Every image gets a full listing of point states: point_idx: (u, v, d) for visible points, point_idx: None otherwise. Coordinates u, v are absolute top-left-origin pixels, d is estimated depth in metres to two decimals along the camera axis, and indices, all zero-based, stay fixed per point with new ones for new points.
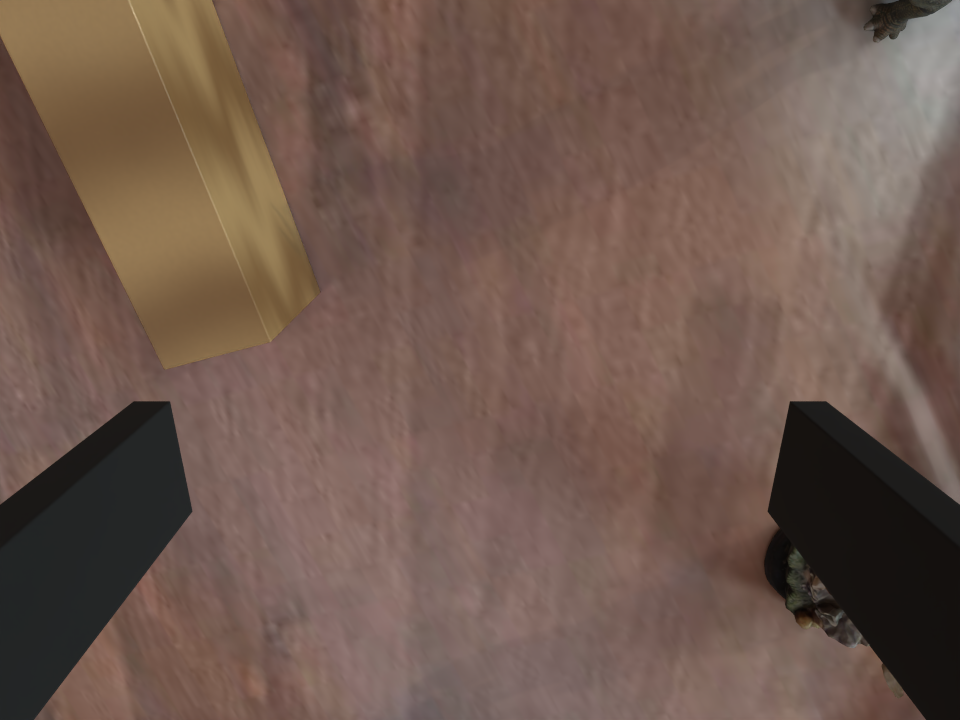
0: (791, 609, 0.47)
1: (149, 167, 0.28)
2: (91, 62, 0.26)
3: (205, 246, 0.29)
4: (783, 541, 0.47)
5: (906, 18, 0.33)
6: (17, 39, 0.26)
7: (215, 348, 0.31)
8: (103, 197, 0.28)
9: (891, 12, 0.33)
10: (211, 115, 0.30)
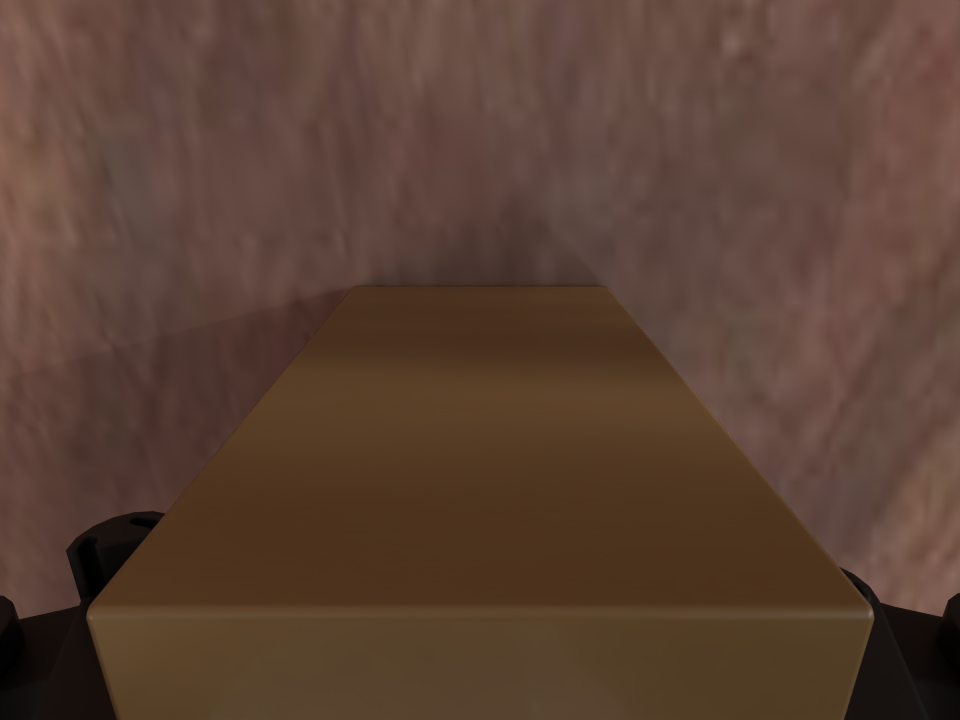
0: None
1: None
2: None
3: None
4: None
5: None
6: None
7: None
8: None
9: None
10: None
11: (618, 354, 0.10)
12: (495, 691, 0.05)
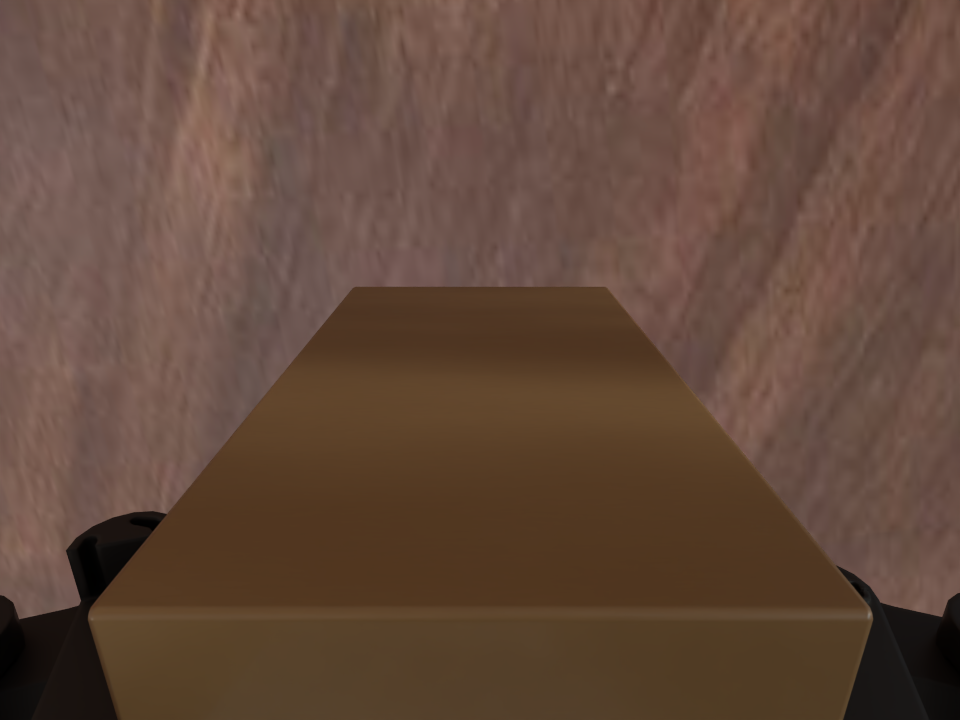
0: None
1: None
2: None
3: None
4: None
5: None
6: None
7: None
8: None
9: None
10: None
11: (618, 355, 0.10)
12: (494, 693, 0.05)
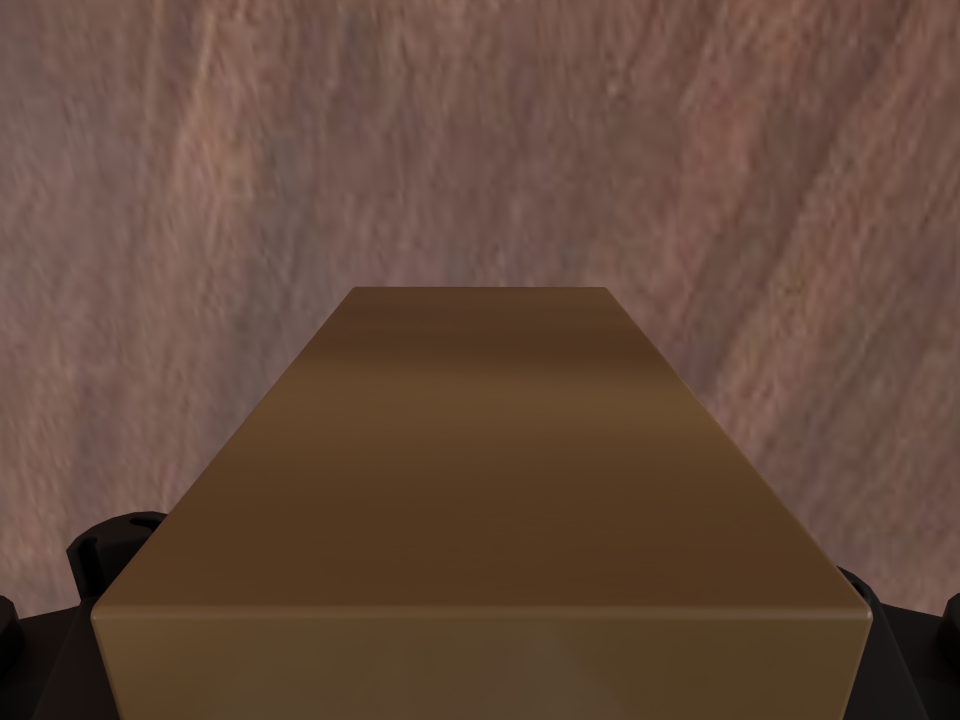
0: None
1: None
2: None
3: None
4: None
5: None
6: None
7: None
8: None
9: None
10: None
11: (618, 355, 0.10)
12: (496, 690, 0.05)
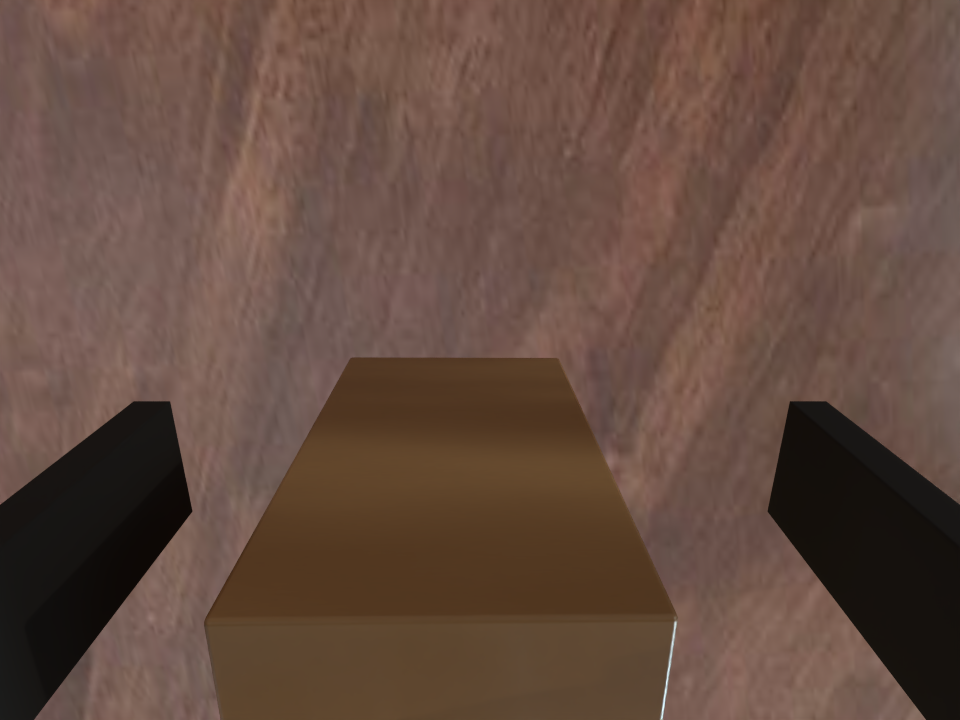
0: None
1: None
2: None
3: None
4: None
5: None
6: None
7: None
8: None
9: None
10: None
11: (556, 427, 0.13)
12: (452, 670, 0.08)
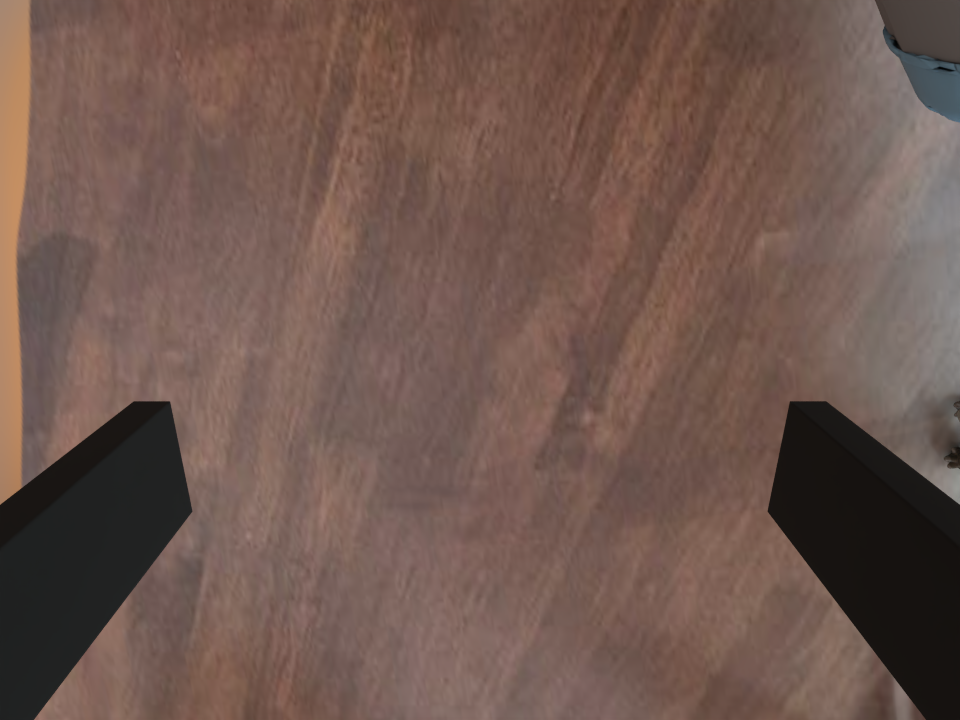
0: None
1: None
2: None
3: None
4: None
5: None
6: None
7: None
8: None
9: None
10: None
11: None
12: None
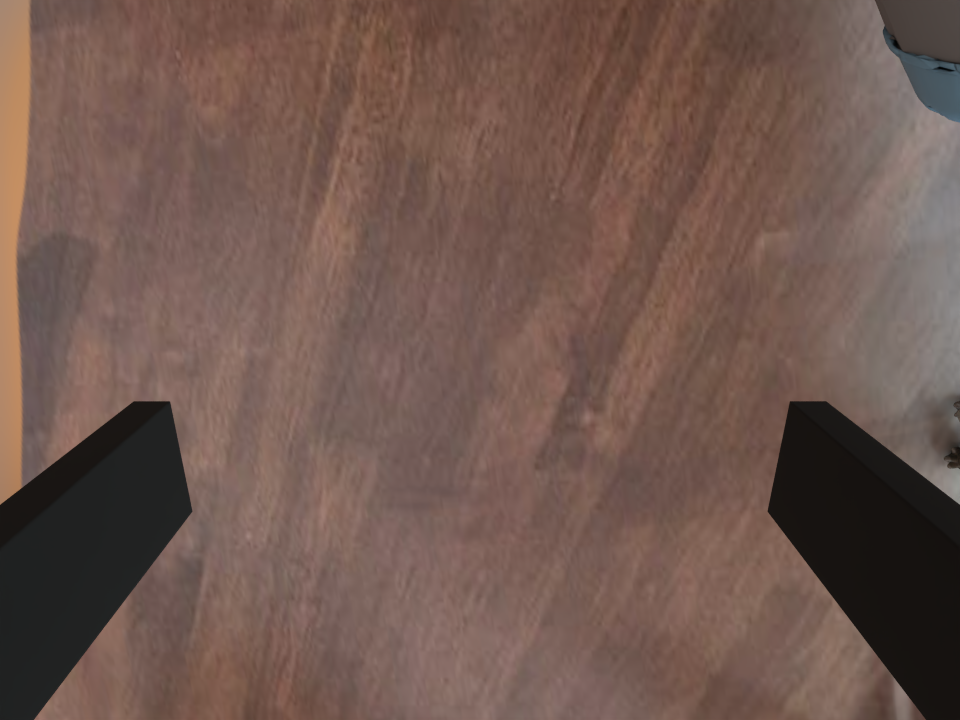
0: None
1: None
2: None
3: None
4: None
5: None
6: None
7: None
8: None
9: None
10: None
11: None
12: None
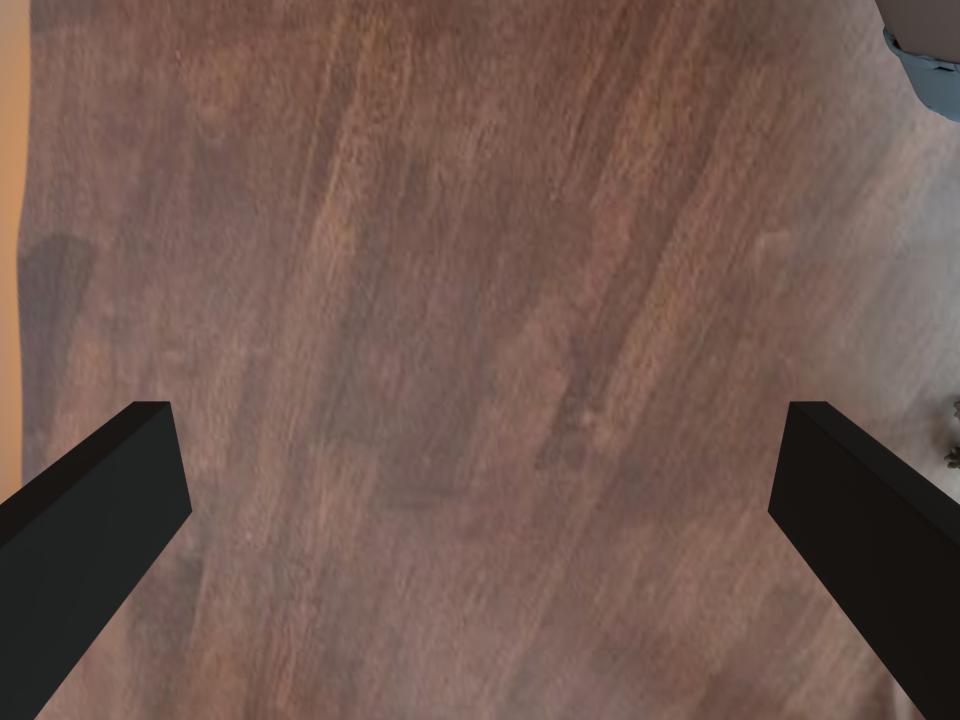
0: None
1: None
2: None
3: None
4: None
5: None
6: None
7: None
8: None
9: None
10: None
11: None
12: None
